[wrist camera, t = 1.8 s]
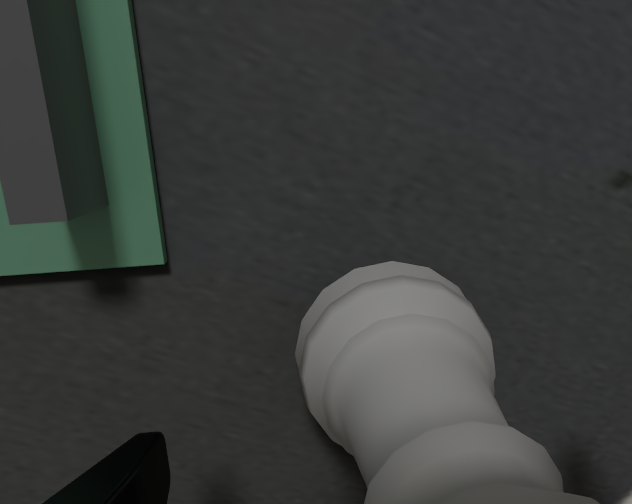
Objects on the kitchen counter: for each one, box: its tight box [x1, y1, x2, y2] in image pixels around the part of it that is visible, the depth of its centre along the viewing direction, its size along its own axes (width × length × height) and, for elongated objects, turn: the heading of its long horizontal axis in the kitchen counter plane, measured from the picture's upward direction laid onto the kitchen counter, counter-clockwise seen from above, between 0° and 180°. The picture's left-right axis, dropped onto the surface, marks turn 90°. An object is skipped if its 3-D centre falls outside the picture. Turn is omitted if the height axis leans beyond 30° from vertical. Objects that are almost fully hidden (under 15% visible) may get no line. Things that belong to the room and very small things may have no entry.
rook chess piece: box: [295, 261, 600, 504], centre depth 8 cm, size 4×4×8 cm
